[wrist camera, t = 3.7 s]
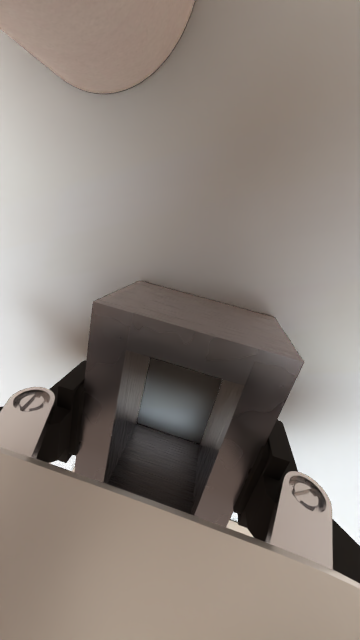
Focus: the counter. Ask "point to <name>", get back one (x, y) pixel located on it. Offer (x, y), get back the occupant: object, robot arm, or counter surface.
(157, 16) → the coffee cup
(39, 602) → the robot arm
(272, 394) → the link
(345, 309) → the counter surface
